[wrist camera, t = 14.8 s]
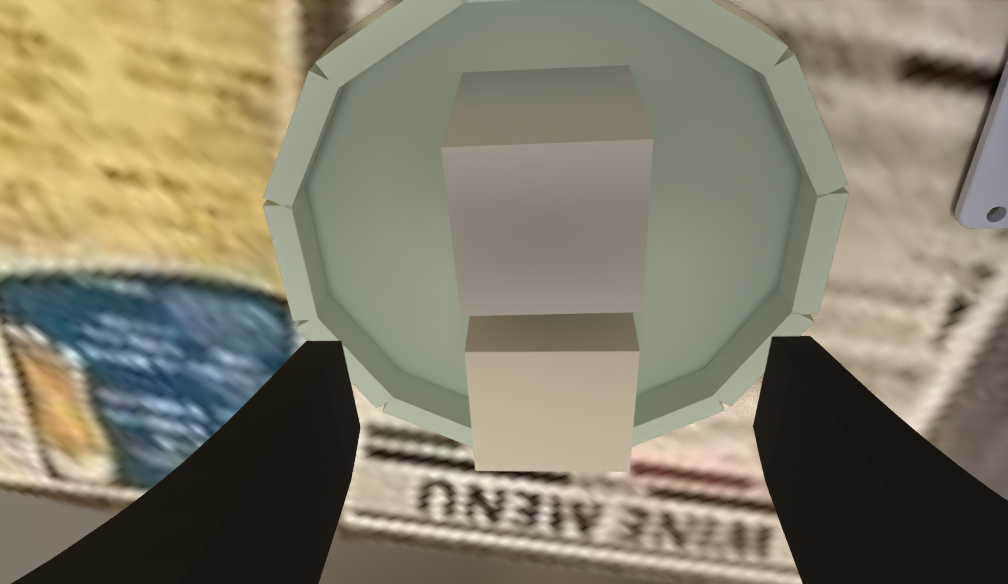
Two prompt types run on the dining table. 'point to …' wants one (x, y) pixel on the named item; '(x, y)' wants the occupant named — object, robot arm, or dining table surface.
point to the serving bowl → (672, 207)
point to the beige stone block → (552, 391)
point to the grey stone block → (548, 191)
